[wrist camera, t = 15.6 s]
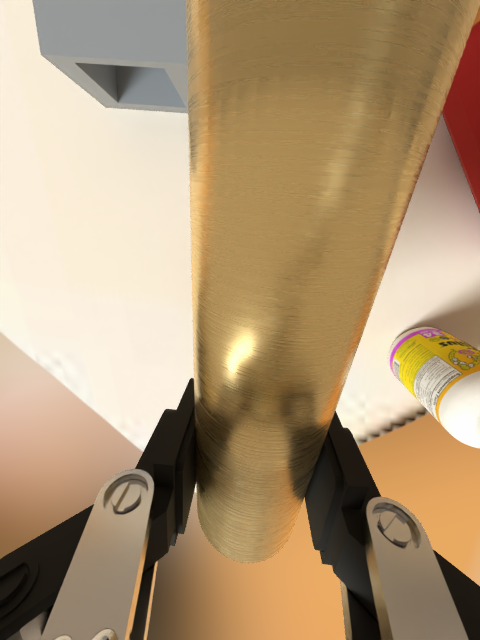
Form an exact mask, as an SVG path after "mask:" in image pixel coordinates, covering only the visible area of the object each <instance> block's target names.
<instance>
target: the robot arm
mask: <svg viewBox="0 0 480 640" xmlns="http://www.w3.org/2000/svg"><path fill="white" fill-rule="evenodd" d="M195 485H196V440H195V397H194V378H191V379H190V380H189V383H188V385H187V387H186V390H185V392H184V394H183V396H182V399H181V401H180V403H179V406H178V408H177V410H172V409H166V410H165V411H164V412H163V414H162V416H161V418H160V420H159V422H158V424H157V426H156V428H155V430H154V432H153V434H152V436H151V438H150V440H149V442H148V444H147V446H146V448H145V450H144V452H143V454H142V456H141V458H140V460H139V462H138V464H137V466H136V468H135V469H130V470H125V471H123V472H120V473H118V474H116V475H115V476H113V477H112V478H111V479H109V480H108V481H107V482H106V483H105V485H104V486H103V487H102V489H101V490H100V492H99V494H98V496H97V499H96V501H95V504H93V505H92V506H90V507H88V508H86V509H85V510H83V511H81V512H80V513H78V514H76V515H74V516H73V517H71V518H69V519H68V520H66V521H64V522H62V523H61V524H59V525H57V526H56V527H54V528H52V529H51V530H49V531H47V532H45V533H44V534H42V535H40V536H38V537H37V538H35V539H33V540H31V541H30V542H28V543H26V544H25V545H23V546H21V547H20V548H18V549H16V550H15V551H13V552H11V553H9V554H7V555H6V556H4V557H3V558H2V559H0V640H147V633H148V626H149V619H150V612H151V605H152V598H153V591H154V584H155V577H156V570H157V563H158V560H159V559H160V558H162V557H163V556H164V555H165V554H166V553H168V551H169V547H170V545H172V546H175V543H176V539H177V536H178V533H179V534H184V531H185V527H186V523H187V519H188V515H189V510H190V506H191V502H192V498H193V494H194V489H195ZM304 497H305V502H306V508H307V513H308V519H309V524H310V530H311V535H312V541H313V545H314V549H315V550H320V554H321V559H322V564H328V565H332V566H333V571H334V573H335V574H336V575H337V577H338V578H339V579H340V580H341V582H340V584H341V594H342V604H343V615H344V625H345V635H346V640H480V586H479V585H477V584H476V583H475V582H474V581H472V580H471V579H470V578H469V577H467V576H466V575H465V574H463V573H462V572H461V571H460V570H458V569H457V568H456V567H455V566H453V565H452V564H451V563H449V562H448V561H447V560H446V559H444V558H443V557H442V556H441V555H439V554H438V553H437V552H436V551H434V550H433V549H432V547H431V544H430V542H429V539H428V536H427V534H426V532H425V530H424V528H423V526H422V525H421V523H420V522H419V520H418V519H417V518H416V517H415V515H414V514H413V513H411V512H410V511H409V510H408V509H407V508H406V507H404V506H403V505H401V504H400V503H398V502H397V501H394V500H392V499H389V498H385V497H381V495H380V493H379V491H378V489H377V487H376V484H375V482H374V480H373V478H372V476H371V474H370V472H369V469H368V468H367V465H366V463H365V461H364V459H363V457H362V455H361V452H360V450H359V448H358V446H357V444H356V442H355V440H354V437H353V435H352V433H351V432H350V430H349V429H348V428H343V427H342V425H341V422H340V420H339V418H338V415H337V413H336V411H335V412H334V415H333V418H332V421H331V423H330V426H329V429H328V432H327V435H326V437H325V440H324V443H323V446H322V449H321V451H320V454H319V457H318V460H317V463H316V465H315V468H314V471H313V474H312V477H311V479H310V482H309V485H308V488H307V491H306V493H305V496H304Z"/></svg>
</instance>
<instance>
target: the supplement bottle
mask: <svg viewBox="0 0 480 640" xmlns="http://www.w3.org/2000/svg"><path fill="white" fill-rule="evenodd" d="M388 365H389V368H390V370H391V372H392V373H393V374H394V375H395V376H396V378H397V379H398V380H399V381H400V382H401V383H402V384H403V385H404V386H405V387H406V388H407V389H408V390H409V391H410V392H411V393H412V394H413V395H414V396H415V397H416V398H417V399H418V401H419V402H420V403H421V404H422V405H423V406H424V407H425V408H426V409H427V410H428V411H429V412H430V413H431V414H432V415H433V416H434V417H435V418H436V419H437V420H438V421H439V423H440V424H441V425H442V426H443V427H444V428H445V429H446V430H447V431H448V432H449V433H450V434H451V435H452V436H453V437H455V438H456V439H457V440H459V441H461V442H462V443H465V444H467V445H469V446H472V447H476V448H480V350H478V349H476V348H474V347H472V346H471V345H469V344H467V343H465V342H463V341H461V340H459V339H457V338H456V337H454V336H452V335H450V334H448V333H446V332H444V331H442V330H440V329H437V328H432V327H419V328H415V329H412V330H409V331H407V332H405V333H404V334H402V335H401V336H399V337H398V338H397V339H396V340H395V341H394V343H393V344H392V346H391V348H390V350H389V353H388Z"/></svg>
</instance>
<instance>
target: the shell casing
mask: <svg viewBox="0 0 480 640" xmlns="http://www.w3.org/2000/svg"><path fill="white" fill-rule="evenodd" d="M442 115H443V117H444V120H445V123H446V125H447V128H448V131H449V133H450V136H451V138H452V141H453V144H454V146H455V149H456V152H457V154H458V157H459V160H460V162H461V165H462V167H463V170H464V173H465V175H466V178H467V181H468V183H469V186H470V189H471V191H472V194H473V196H474V199H475V202H476V204H477V207H478V210H479V212H480V6H479V9H478V12H477V15H476V18H475V20H474V23H473V26H472V29H471V32H470V34H469V37H468V40H467V43H466V46H465V48H464V51H463V54H462V57H461V60H460V62H459V65H458V68H457V71H456V74H455V76H454V79H453V82H452V85H451V88H450V90H449V93H448V96H447V99H446V102H445V104H444V107H443V110H442Z"/></svg>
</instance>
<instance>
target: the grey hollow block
mask: <svg viewBox="0 0 480 640" xmlns="http://www.w3.org/2000/svg"><path fill="white" fill-rule="evenodd" d="M33 6H34V13H35V19H36V26H37V32H38V39H39V45H40V52H41V55H42V56H43V57H45V58H46V59H47V60H48V61H49V62H51V63H52V64H53V65H54V66H56V67H57V68H58V69H59V70H60V71H62V72H63V73H64V74H65V75H67V76H68V77H69V78H70V79H72V80H73V81H74V82H75V83H76V84H78V85H79V86H80V87H81V88H83V89H84V90H85V91H86V92H87V93H89V94H90V95H91V96H92V97H94V98H95V99H96V100H97V101H99V102H100V103H101V104H102V105H103V106H105V107H107V108H121V109H136V110H150V111H165V112H179V113H188V80H187V35H186V0H33Z"/></svg>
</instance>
